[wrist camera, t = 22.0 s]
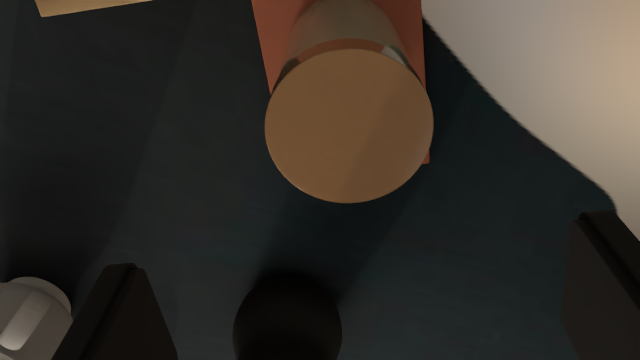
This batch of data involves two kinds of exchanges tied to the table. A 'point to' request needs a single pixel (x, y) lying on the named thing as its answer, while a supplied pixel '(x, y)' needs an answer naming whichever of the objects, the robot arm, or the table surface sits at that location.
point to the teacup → (32, 319)
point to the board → (288, 3)
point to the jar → (347, 105)
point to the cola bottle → (287, 322)
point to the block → (76, 5)
